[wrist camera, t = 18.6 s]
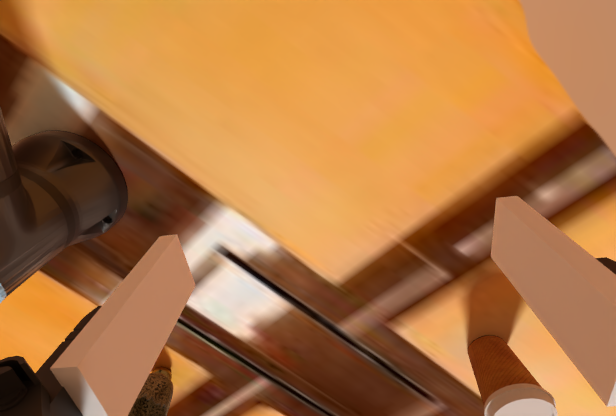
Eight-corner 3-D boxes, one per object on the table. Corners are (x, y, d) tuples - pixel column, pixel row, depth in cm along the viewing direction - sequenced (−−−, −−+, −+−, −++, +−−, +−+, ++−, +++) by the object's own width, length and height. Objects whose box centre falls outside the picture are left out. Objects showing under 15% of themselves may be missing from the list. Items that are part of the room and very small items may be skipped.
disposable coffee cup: (446, 348, 59) (474, 418, 48) (494, 318, 55) (536, 386, 44) (479, 376, 61) (513, 447, 50) (527, 349, 58) (574, 419, 47)
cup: (188, 384, 65) (171, 426, 58) (151, 386, 66) (130, 429, 59) (175, 356, 62) (156, 397, 55) (137, 359, 63) (113, 400, 56)
